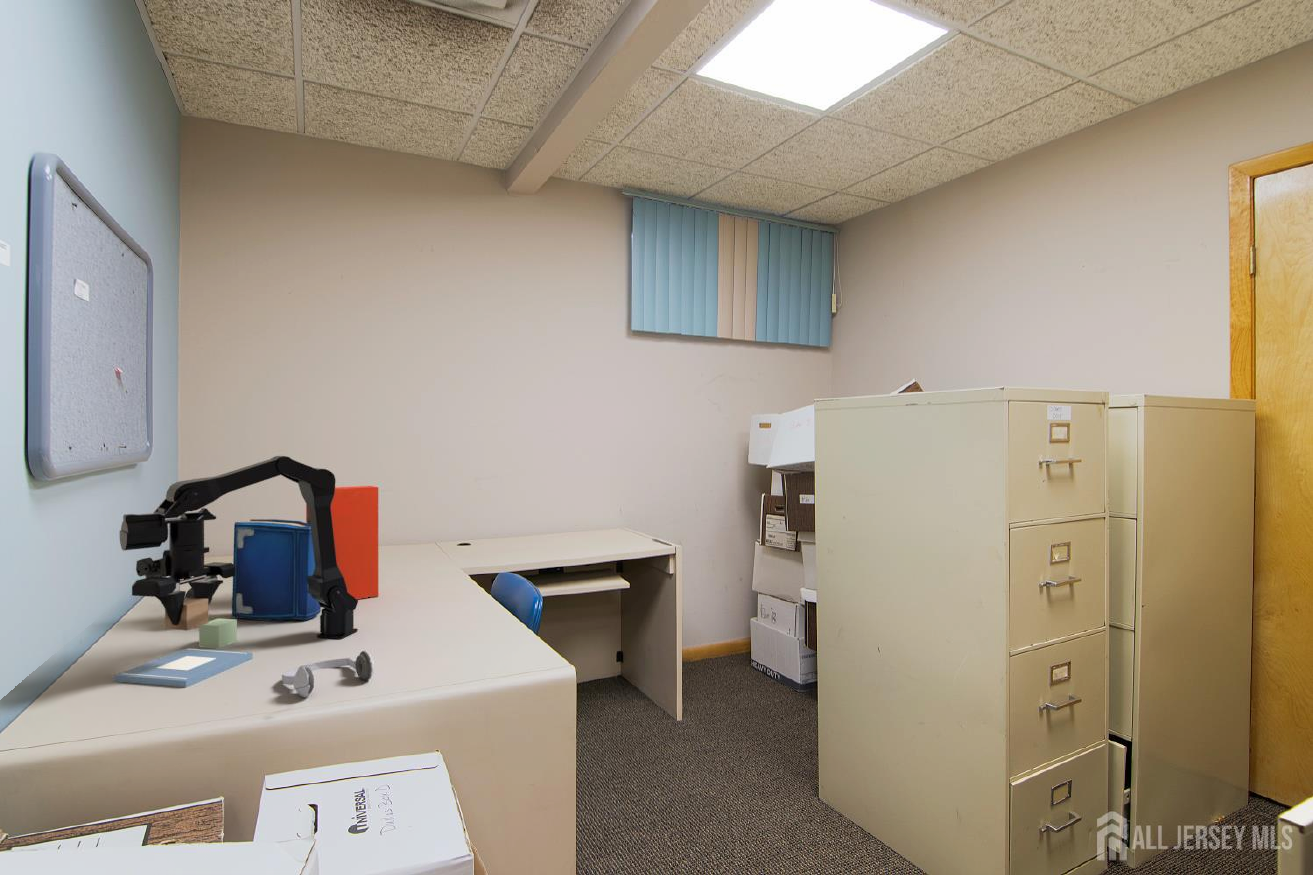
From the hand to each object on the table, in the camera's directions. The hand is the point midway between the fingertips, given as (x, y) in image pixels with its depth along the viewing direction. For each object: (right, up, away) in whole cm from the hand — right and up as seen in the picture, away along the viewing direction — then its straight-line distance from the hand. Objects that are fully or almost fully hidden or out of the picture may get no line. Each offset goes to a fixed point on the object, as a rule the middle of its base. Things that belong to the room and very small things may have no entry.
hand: (187, 620), depth 132 cm
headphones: (+31, -11, -8) cm, 34 cm away
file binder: (+5, -10, +56) cm, 57 cm away
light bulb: (-18, -10, +29) cm, 36 cm away
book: (-3, -10, +37) cm, 38 cm away
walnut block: (0, -1, 0) cm, 1 cm away
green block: (-4, -10, +16) cm, 19 cm away
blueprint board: (0, -10, 0) cm, 10 cm away
